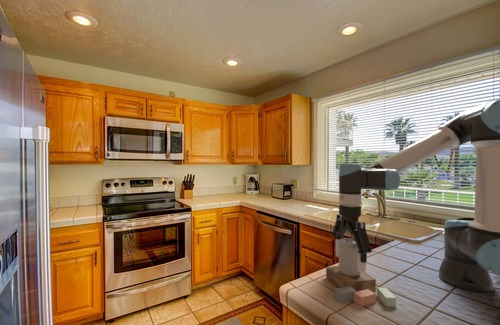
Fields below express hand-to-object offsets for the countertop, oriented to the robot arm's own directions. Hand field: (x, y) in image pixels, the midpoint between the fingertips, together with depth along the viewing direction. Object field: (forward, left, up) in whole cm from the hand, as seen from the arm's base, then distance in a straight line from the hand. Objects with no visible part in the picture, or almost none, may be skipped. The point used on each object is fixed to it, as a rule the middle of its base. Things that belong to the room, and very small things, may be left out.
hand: (349, 262), depth 86 cm
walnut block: (0, 0, -8) cm, 8 cm away
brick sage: (-5, +12, -8) cm, 15 cm away
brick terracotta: (+2, +11, -8) cm, 14 cm away
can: (0, 0, -4) cm, 4 cm away
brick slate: (+7, +8, -8) cm, 13 cm away
